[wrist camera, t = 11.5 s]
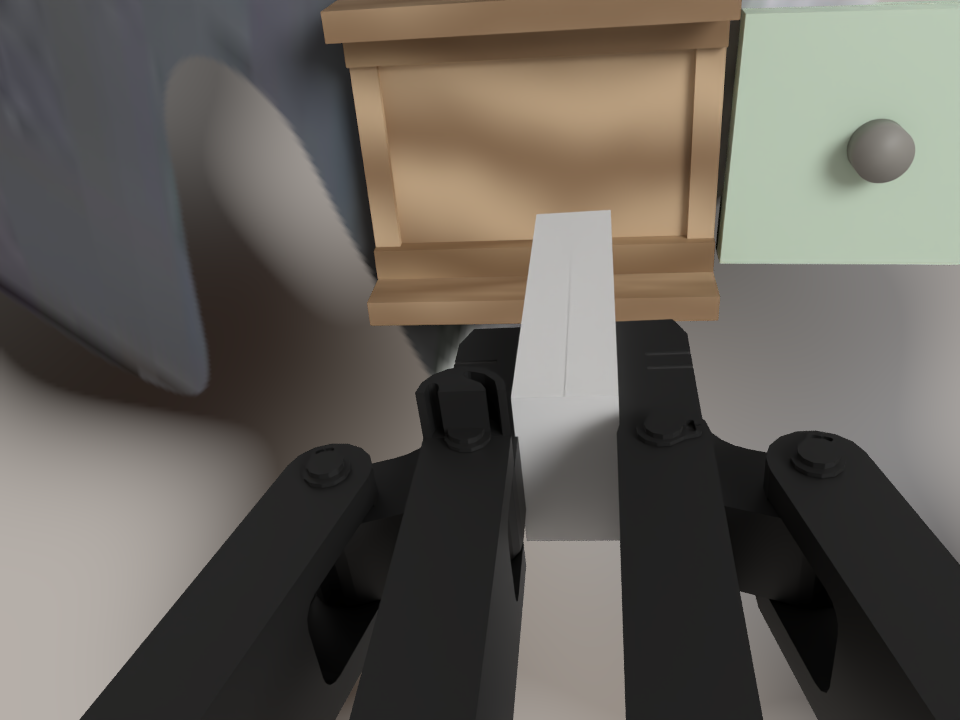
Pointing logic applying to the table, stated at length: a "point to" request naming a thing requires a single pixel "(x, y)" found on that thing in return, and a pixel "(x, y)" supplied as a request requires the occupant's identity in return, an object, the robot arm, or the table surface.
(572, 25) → the oak box
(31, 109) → the table surface
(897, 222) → the cover plate
